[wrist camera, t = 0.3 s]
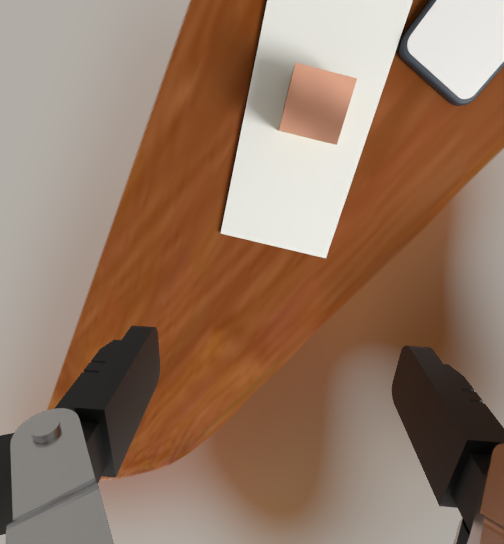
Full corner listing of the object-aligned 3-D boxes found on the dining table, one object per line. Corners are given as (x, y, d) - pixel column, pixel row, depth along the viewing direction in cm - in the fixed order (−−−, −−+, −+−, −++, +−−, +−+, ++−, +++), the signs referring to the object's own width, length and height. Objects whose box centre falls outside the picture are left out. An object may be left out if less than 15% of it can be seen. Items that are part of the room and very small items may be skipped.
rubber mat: (278, -53, 28) (278, -55, 28) (416, -15, 28) (418, -17, 28) (221, 232, 37) (220, 233, 37) (325, 256, 38) (325, 258, 38)
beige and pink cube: (291, 72, 31) (295, 62, 26) (344, 86, 31) (357, 78, 27) (278, 130, 33) (279, 130, 28) (327, 143, 33) (336, 144, 28)
